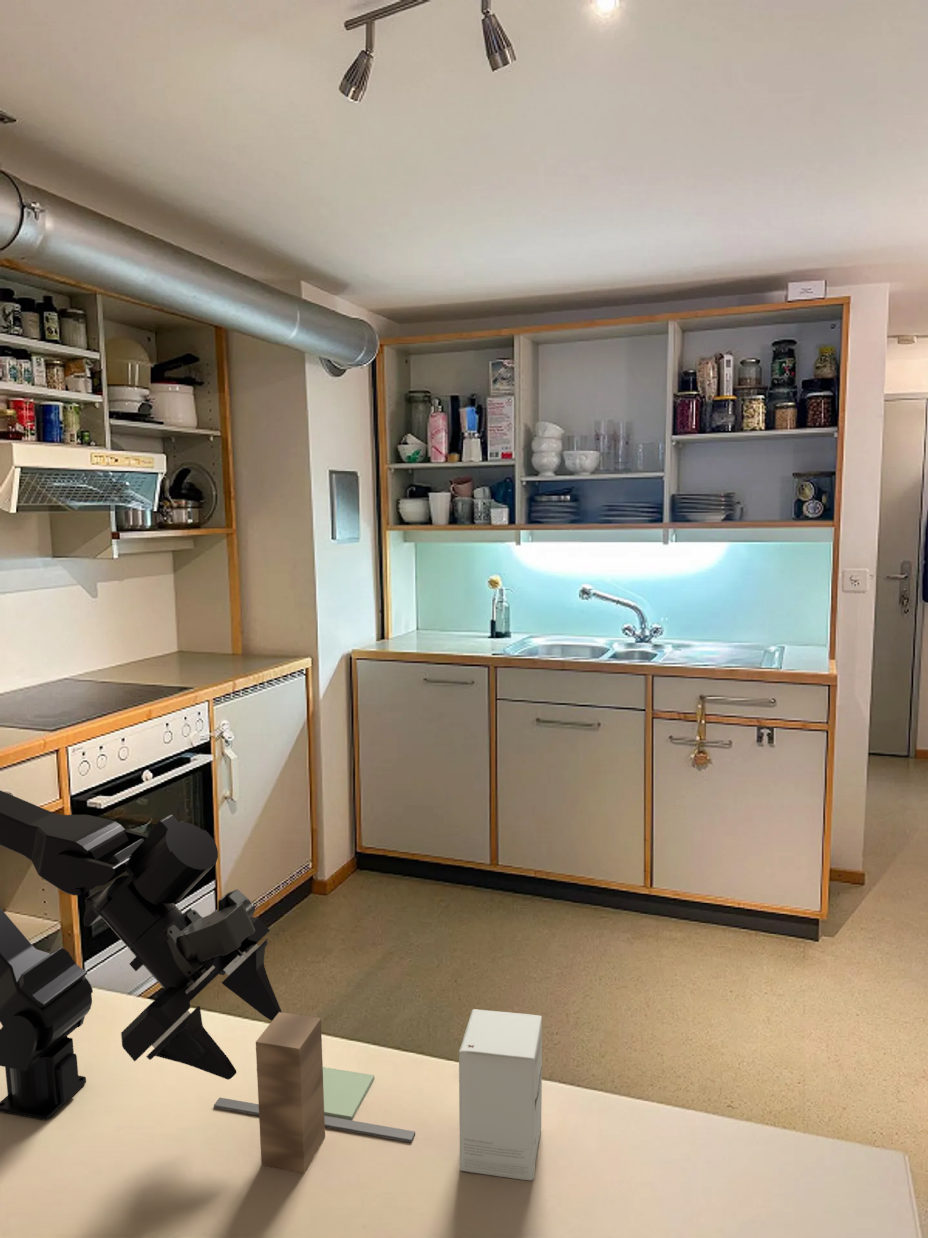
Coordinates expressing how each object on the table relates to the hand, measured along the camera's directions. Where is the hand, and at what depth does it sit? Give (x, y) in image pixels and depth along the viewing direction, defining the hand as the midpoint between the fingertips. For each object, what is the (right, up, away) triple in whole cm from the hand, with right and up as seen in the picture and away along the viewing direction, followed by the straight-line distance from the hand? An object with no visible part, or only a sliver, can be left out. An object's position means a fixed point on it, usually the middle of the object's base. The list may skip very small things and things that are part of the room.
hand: (257, 1047), depth 87 cm
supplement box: (+24, -11, 0) cm, 26 cm away
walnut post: (+3, -11, 0) cm, 11 cm away
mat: (+5, -9, +9) cm, 14 cm away
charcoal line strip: (+5, -10, +5) cm, 12 cm away
